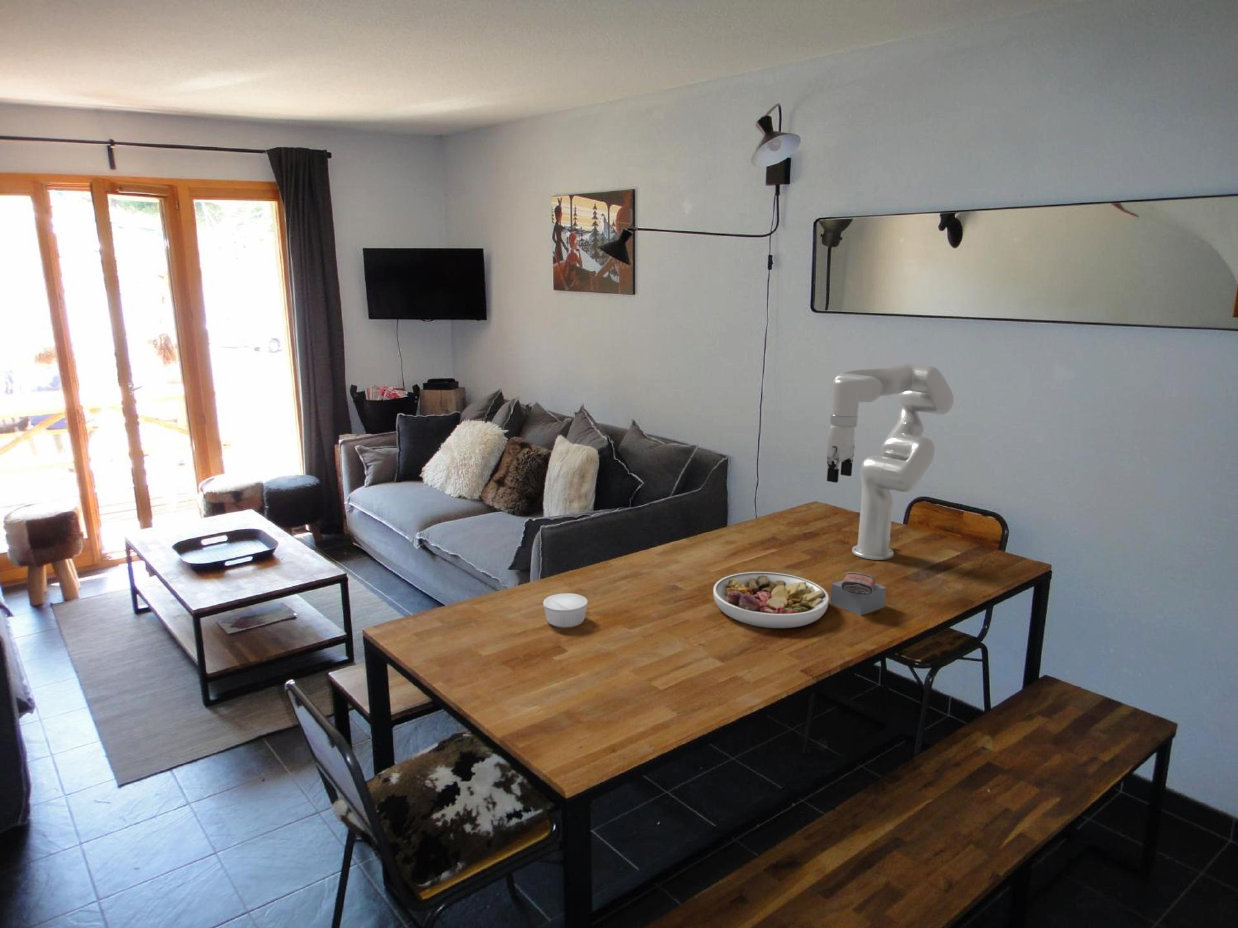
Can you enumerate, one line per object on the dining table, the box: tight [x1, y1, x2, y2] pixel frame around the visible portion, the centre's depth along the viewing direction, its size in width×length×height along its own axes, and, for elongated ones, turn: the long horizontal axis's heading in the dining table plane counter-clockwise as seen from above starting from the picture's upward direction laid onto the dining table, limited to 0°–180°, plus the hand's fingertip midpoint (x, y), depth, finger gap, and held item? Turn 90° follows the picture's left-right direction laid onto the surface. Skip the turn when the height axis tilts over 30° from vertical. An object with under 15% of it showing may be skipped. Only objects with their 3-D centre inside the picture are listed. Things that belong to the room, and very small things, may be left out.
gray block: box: [829, 579, 887, 617], centre depth 225 cm, size 10×10×6 cm
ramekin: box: [542, 592, 589, 628], centre depth 213 cm, size 11×11×5 cm
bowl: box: [712, 571, 830, 629], centre depth 222 cm, size 30×30×8 cm
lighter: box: [841, 571, 877, 595], centre depth 223 cm, size 8×3×10 cm
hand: (839, 478), depth 245 cm, fingers open, 9 cm apart
